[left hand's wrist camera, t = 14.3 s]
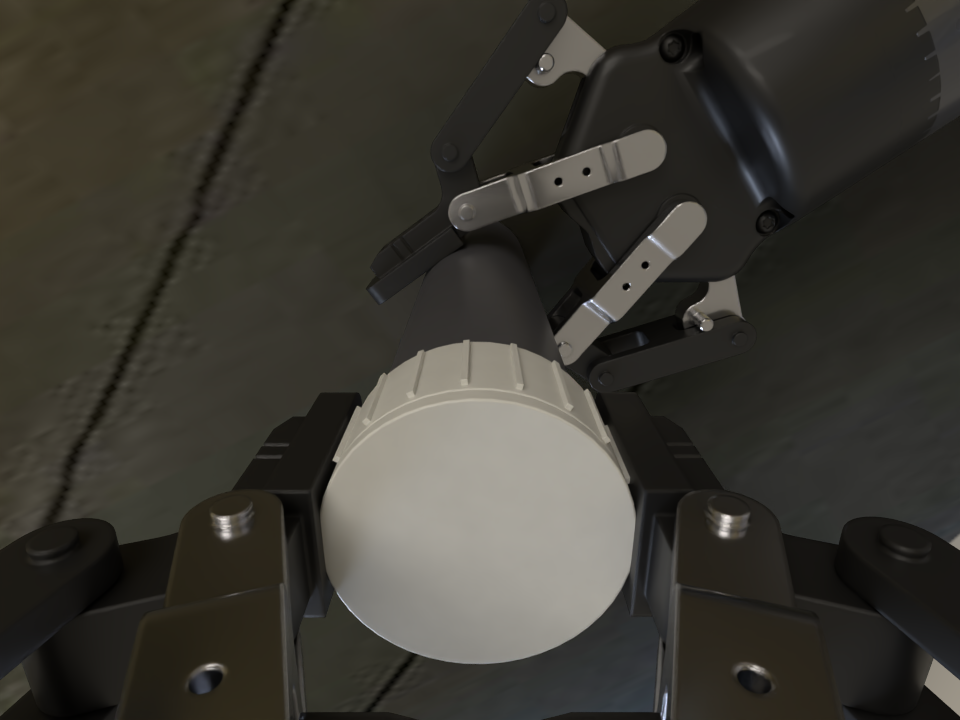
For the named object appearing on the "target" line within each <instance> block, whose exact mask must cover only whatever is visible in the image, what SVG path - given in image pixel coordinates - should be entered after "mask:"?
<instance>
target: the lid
mask: <svg viewBox="0 0 960 720" xmlns="http://www.w3.org/2000/svg"><path fill="white" fill-rule="evenodd" d="M333 461H334V462H336V463H337V465H336V467H335V470H334V472H333V474H332V476H331V479H330V481H329V484H328V486H327V489H326V491H325V493H324V496H323V500H322V504H321V508H320V520H321V530H322V539H323V548H324V557H325V566H326V572H327V575H328V577H329V580H330V582H331V584H332V586H333V587H334V589H335V591H336V592H337V594H338V596H339V597H340V599H341V600H342V601H343V602H344V604H345V605H346V606H347V607H348V609H349V610H350V611H351V612H352V613H353V614H354V615H355V616H356V617H357V618H358V619H359V620H360V621H361V622H362V623H363V624H364V625H366V626H367V627H368V628H370V629H371V630H372V631H374V632H375V633H376V634H378V635H379V636H381V637H383V638H384V639H386V640H388V641H389V642H391V643H393V644H395V645H397V646H399V647H401V648H404V649H406V650H408V651H410V652H413V653H416V654H420V655H423V656H426V657H429V658H433V659H438V660H443V661H448V662H456V663H465V664H489V663H500V662H507V661H513V660H518V659H523V658H526V657H530V656H533V655H537V654H540V653H542V652H545V651H547V650H550V649H552V648H555V647H557V646H559V645H561V644H563V643H564V642H566V641H568V640H570V639H572V638H574V637H575V636H576V635H578V634H579V633H581V632H582V631H584V630H585V629H586V628H588V627H589V626H590V625H591V624H592V623H593V622H595V621H596V620H597V619H598V618H599V617H600V616H601V615H602V614H603V613H604V612H605V611H606V609H607V608H608V607H609V606H610V605H611V604H612V602H613V601H614V600H615V598H616V597H617V595H618V593H619V592H620V590H621V589H622V587H623V585H624V583H625V581H626V579H627V577H628V574H629V572H630V566H631V558H632V549H633V540H634V531H635V521H636V511H635V506H634V501H633V498H632V495H631V492H630V490H629V487H628V484H629V483H630V476H629V474H628V472H627V469H626V467H625V465H624V462H623V460H622V458H621V455H620V453H619V451H618V448H617V446H616V444H615V442H614V439H613V437H612V435H611V432H610V430H609V428H608V425H604V423H603V421H602V418H601V416H600V414H599V411H598V409H597V406H596V404H595V402H594V399H593V397H592V395H591V393H590V391H589V390H588V389H586V390H585V391H584V390H583V389H582V387H581V386H580V385H579V384H578V383H577V382H576V381H575V380H574V379H573V378H572V377H571V376H570V375H569V374H567V373H566V372H565V371H564V370H562V369H561V367H560V364H559V363H558V362H557V361H555V360H554V361H553V362H550V361H549V360H547V359H545V358H543V357H542V356H540V355H537V354H535V353H532V352H530V351H528V350H525V349H521V348H518V347H517V344H513V343H511V344H510V345H506V344H499V343H492V342H470V340H463V343H456V344H450V345H446V346H442V347H438V348H434V349H432V350H429V351H426V352H424V350H421V351H418V353H417V356H415V357H413V358H411V359H409V360H407V361H405V362H404V363H402V364H401V365H399V366H398V367H397V368H395V369H394V370H392V371H391V372H390V373H389V374H388V375H386V374H385V373H383V374H382V375H381V376H380V378H379V381H378V383H377V386H376V387H375V388H374V389H373V391H372V392H371V393H370V394H369V396H368V397H367V399H366V400H365V402H364V404H363V406H362V407H359V406H357V407H356V409H355V411H354V413H353V415H352V418H351V420H350V422H349V424H348V427H347V429H346V431H345V433H344V436H343V438H342V440H341V442H340V444H339V447H338V449H337V451H336V453H335V456H334V458H333Z"/></svg>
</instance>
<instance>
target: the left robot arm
mask: <svg viewBox="0 0 960 720" xmlns="http://www.w3.org/2000/svg"><path fill="white" fill-rule="evenodd" d="M595 404H596V406H597V409H598V411H599V414H600V416H601V418H602V421H603V423H604V425H608V428H609V430H610V432H611V435H612V437H613V439H614V442H615V444H616V446H617V448H618V451H619V453H620V455H621V458H622V460H623V462H624V465H625V467H626V469H627V472H628V474H629V476H630V483H629V484H628V487H629V490H630V492H631V495H632V498H633V501H634V506H635V511H636V521H635V531H634V540H633V549H632V558H631V566H630V572H629V574H628V577H627V579H626V581H625V583H624V585H623V587H622V590H623V593H624V597H625V600H626V603H627V606H628V610H629V613H630V616H653V619H654V621H655V624H656V627H657V630H658V633H659V642H658V650H657V663H656V676H655V689H654V703H653V712H571V713H567V714H563V715H559V716H555V717H551V718H547V719H543V720H960V716H959V715H957V714H956V713H955V712H954V711H953V710H952V709H951V708H950V707H949V706H947V705H946V704H945V703H944V702H943V701H942V700H941V699H939V698H938V697H937V696H936V695H935V694H934V693H933V692H932V691H931V690H930V689H928V688H927V687H926V686H925V685H924V684H925V681H926V678H927V675H928V672H929V670H930V667H931V664H932V661H933V658H934V659H935V660H937V661H938V662H939V663H940V664H941V665H943V666H944V667H945V668H946V669H947V670H949V671H950V672H951V673H952V674H953V675H955V676H956V677H957V678H958V679H959V680H960V550H958V549H957V548H955V547H954V546H952V545H951V544H949V543H948V542H946V541H944V540H943V539H941V538H939V537H938V536H936V535H934V534H932V533H930V532H928V531H926V530H924V529H922V528H919V527H917V526H914V525H912V524H908V523H905V522H902V521H898V520H894V519H889V518H882V517H860V518H856V519H852V520H851V521H849V522H847V523H846V524H845V525H844V527H843V530H842V534H841V537H840V541H839V545H836V544H831V543H826V542H821V541H816V540H811V539H806V538H800V537H795V536H791V535H787V534H783V533H782V532H781V528H780V524H779V521H778V519H777V518H776V516H775V515H774V514H773V513H772V512H771V511H770V510H769V509H768V508H767V507H765V506H764V505H763V504H761V503H759V502H758V501H756V500H754V499H752V498H750V497H747V496H744V495H742V494H738V493H735V492H731V491H726V490H724V489H723V487H722V486H721V484H720V483H719V481H718V480H717V478H716V477H715V476H714V474H713V473H712V471H711V470H710V468H709V467H708V465H707V464H706V462H705V461H704V459H703V458H701V455H700V453H699V452H698V450H697V449H696V447H695V446H693V445H692V442H691V440H690V439H689V437H688V436H687V434H686V433H685V431H684V430H683V429H682V428H681V427H679V426H678V425H676V424H675V423H673V422H672V421H670V420H669V419H667V418H666V417H664V416H650V414H649V413H648V411H647V409H646V408H645V406H644V404H643V403H642V401H641V399H640V398H639V396H638V394H637V393H636V392H598V393H597V396H596V400H595ZM357 406H359V407H362V400H361V396H360V394H359V393H320V394H319V396H318V398H317V399H316V401H315V403H314V404H313V406H312V408H311V409H310V411H309V412H308V414H307V416H306V417H292V418H290V419H289V420H287V421H286V422H284V423H283V424H281V425H279V426H278V427H276V428H275V429H274V430H273V431H272V432H271V434H270V435H269V437H268V438H267V440H266V441H265V443H264V446H262V447H261V448H260V450H259V451H258V453H257V454H256V458H255V459H253V460H252V462H251V463H250V464H249V466H248V467H247V469H246V470H245V472H244V473H243V475H242V476H241V478H240V479H239V480H238V482H237V483H236V485H235V486H234V488H233V489H232V491H229V492H225V493H222V494H218V495H216V496H213V497H210V498H208V499H206V500H204V501H202V502H201V503H199V504H197V505H196V506H195V507H193V508H192V509H191V510H190V511H189V512H188V513H187V514H186V515H185V516H184V518H183V519H182V521H181V524H180V528H179V532H178V533H175V534H171V535H168V536H163V537H159V538H154V539H149V540H144V541H139V542H133V543H128V544H123V545H119V544H118V540H117V536H116V532H115V529H114V527H113V526H112V525H111V524H110V523H108V522H106V521H103V520H100V519H93V518H81V519H72V520H66V521H62V522H58V523H54V524H51V525H48V526H45V527H42V528H40V529H37V530H35V531H32V532H30V533H28V534H26V535H24V536H22V537H21V538H19V539H17V540H16V541H14V542H12V543H11V544H9V545H8V546H6V547H5V548H3V549H2V550H0V680H1V679H2V678H3V677H4V676H5V675H7V674H8V673H9V672H10V671H11V670H13V669H14V668H15V667H16V666H17V665H19V664H20V663H21V662H22V665H23V668H24V671H25V674H26V676H27V679H28V682H29V685H30V687H31V689H30V690H29V691H28V692H27V693H26V694H25V695H24V696H23V697H22V698H20V699H19V700H18V701H17V702H16V703H15V704H14V705H13V706H11V707H10V708H9V709H8V710H7V711H6V712H5V713H4V714H3V715H1V716H0V720H417V719H413V718H409V717H405V716H401V715H397V714H393V713H389V712H307V702H306V689H305V676H304V662H303V650H302V642H301V635H300V628H299V627H300V624H301V621H302V619H303V617H326V614H327V611H328V607H329V604H330V601H331V598H332V595H333V592H334V587H333V586H332V584H331V582H330V580H329V577H328V575H327V572H326V566H325V557H324V548H323V539H322V530H321V520H320V508H321V504H322V500H323V496H324V493H325V491H326V489H327V486H328V484H329V481H330V479H331V476H332V474H333V472H334V470H335V467H336V465H337V463H336V462H334V461H333V458H334V456H335V453H336V451H337V449H338V447H339V444H340V442H341V440H342V438H343V436H344V433H345V431H346V429H347V427H348V424H349V422H350V420H351V418H352V415H353V413H354V411H355V409H356V407H357Z"/></svg>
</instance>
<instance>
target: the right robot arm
mask: <svg viewBox="0 0 960 720" xmlns="http://www.w3.org/2000/svg"><path fill="white" fill-rule="evenodd" d="M567 13H568V12H567V4H566V2H565V0H529V1H528V3H527V4H526V6H525V7H524V9H523V10H522V12H521V13H520V14H519V16H518V17H517V19H516V20H515V22H514V23H513V25H512V26H511V28H510V29H509V31H508V32H507V34H506V35H505V37H504V38H503V39H502V41H501V42H500V44H499V45H498V47H497V48H496V50H495V51H494V53H493V54H492V56H491V57H490V59H489V60H488V62H487V63H486V64H485V66H484V67H483V69H482V70H481V72H480V73H479V75H478V76H477V78H476V79H475V81H474V82H473V84H472V85H471V87H470V88H469V89H468V91H467V92H466V94H465V95H464V97H463V98H462V100H461V101H460V103H459V104H458V106H457V107H456V109H455V110H454V112H453V113H452V114H451V116H450V117H449V119H448V120H447V122H446V123H445V125H444V126H443V128H442V129H441V131H440V132H439V134H438V135H437V137H436V138H435V139H434V141H433V143H432V146H431V158H432V161H433V162H434V164H435V167H436V170H437V174H438V177H439V181H440V184H441V188H442V199H441V202H440V204H439V205H438V206H437V207H436V208H435V209H433V210H432V211H431V212H429V213H428V214H427V215H425V216H424V217H423V218H421V219H420V220H419V221H417V222H416V223H415V224H413V225H412V226H411V227H409V228H408V229H407V230H405V231H404V232H403V233H401V234H400V235H399V236H397V237H396V238H395V239H393V240H392V241H391V242H389V243H388V244H387V245H385V246H384V247H383V248H382V249H381V251H380V252H379V253H378V254H377V256H376V258H375V260H374V261H373V263H372V265H371V266H370V268H371V269H372V271H373V272H374V273H375V274H376V277H375V278H374V279H373V280H372V281H371V282H370V284H369V285H368V287H367V288H366V290H367V291H368V292H369V293H370V295H371V296H372V297H373V298H374V300H375V301H376V302H377V303H378V305H380V304H382V303H383V302H385V301H386V300H388V299H389V298H391V297H392V296H393V295H395V294H396V293H397V292H399V291H400V290H402V289H403V288H404V287H406V286H407V285H408V284H410V283H411V282H413V281H414V280H415V279H417V278H418V277H420V276H421V275H422V274H424V273H425V272H426V271H428V270H429V269H431V268H432V267H433V266H435V265H436V264H437V263H438V262H440V261H441V260H442V259H444V258H445V257H447V256H449V255H450V254H451V253H453V252H454V251H455V250H457V249H458V248H460V247H461V246H462V245H464V239H465V235H466V234H467V233H468V232H470V231H473V230H476V229H478V228H481V227H484V226H487V225H490V224H492V223H495V222H498V221H501V220H504V219H507V218H509V217H512V216H515V215H518V214H521V213H527V212H532V211H536V210H539V209H542V208H544V207H547V206H550V205H553V204H556V203H558V204H559V205H560V207H561V209H562V210H563V211H564V212H565V213H566V214H567V215H569V216H570V217H571V218H572V219H573V220H574V221H575V222H576V223H578V224H579V226H580V229H581V232H582V235H583V239H584V242H585V245H586V247H587V248H588V250H589V251H590V253H591V254H592V256H593V257H592V258H591V259H590V260H589V262H588V263H587V264H586V265H585V266H584V268H583V269H582V270H581V271H580V272H579V274H578V275H577V277H576V278H575V280H574V283H573V285H572V287H571V288H570V289H569V291H568V292H567V293H566V294H565V295H564V296H563V298H562V299H561V300H560V301H559V302H558V304H557V305H556V306H555V307H554V308H553V309H552V311H551V312H550V313H549V314H548V315H547V319H548V321H549V324H550V327H551V330H552V332H553V335H554V338H555V341H556V343H557V346H558V349H559V352H560V354H561V357H562V360H563V363H564V365H565V368H567V369H570V370H572V371H574V372H575V373H577V374H578V375H580V376H581V377H583V378H584V379H586V380H587V381H589V383H590V385H591V387H592V388H593V389H594V390H595V391H597V392H614V391H617V390H621V389H624V388H628V387H631V386H634V385H638V384H641V383H645V382H648V381H651V380H655V379H658V378H661V377H665V376H668V375H672V374H675V373H678V372H682V371H685V370H688V369H692V368H695V367H699V366H702V365H705V364H709V363H712V362H715V361H719V360H722V359H726V358H729V357H732V356H736V355H739V354H742V353H745V352H747V351H748V350H750V349H751V348H752V347H753V345H754V344H755V341H756V338H757V333H756V330H755V328H754V327H753V326H752V325H751V324H750V323H748V322H747V321H746V320H745V319H744V318H743V317H742V313H741V307H740V302H739V296H738V291H737V285H736V280H735V274H737V273H738V272H739V271H740V270H741V269H742V268H743V267H744V265H745V264H746V262H747V261H748V259H749V258H750V256H751V254H752V253H753V252H754V250H755V249H756V248H757V247H758V245H759V244H760V243H761V242H762V241H763V240H765V239H766V238H767V237H769V236H770V235H772V234H774V233H776V232H777V231H779V230H781V229H783V228H785V227H787V226H789V225H791V224H792V223H794V222H796V221H798V220H799V219H801V218H802V217H804V216H806V215H807V214H809V213H810V212H812V211H813V210H815V209H816V208H818V207H819V206H821V205H823V204H824V203H826V202H827V201H829V200H830V199H832V198H833V197H835V196H837V195H838V194H840V193H841V192H843V191H844V190H846V189H847V188H849V187H850V186H852V185H854V184H855V183H857V182H858V181H860V180H861V179H863V178H864V177H866V176H867V175H869V174H871V173H872V172H874V171H875V170H877V169H878V168H880V167H881V166H883V165H885V164H886V163H888V162H889V161H891V160H892V159H894V158H896V157H897V156H899V155H900V154H902V153H903V152H905V151H906V150H908V149H909V148H911V147H913V146H914V145H916V144H917V143H919V142H920V141H922V140H923V139H925V138H926V137H928V136H929V135H931V134H932V133H934V132H936V131H937V130H939V129H940V128H942V127H943V126H945V125H946V124H948V123H950V122H951V121H953V120H954V119H956V118H957V117H959V116H960V0H699V1H698V2H696V3H695V4H694V5H692V6H691V7H690V8H688V9H687V10H686V11H684V12H683V13H682V14H680V15H679V16H678V17H676V18H675V19H674V20H672V21H671V22H670V23H668V24H667V25H666V26H664V27H663V28H662V29H660V30H659V31H658V32H656V33H655V34H654V35H652V36H651V37H649V38H648V39H646V40H644V41H641V42H638V43H634V44H627V45H619V46H615V47H612V48H610V49H608V50H605V49H604V48H603V47H602V46H601V45H599V44H598V43H597V42H596V41H595V40H594V39H593V38H592V37H590V36H589V35H588V34H587V33H586V32H585V31H584V30H583V29H581V28H580V27H579V26H578V25H577V24H576V23H575V22H574V21H573V20H571V19H570V18H569V17H568V16H567ZM564 74H575V75H578V76H579V77H581V78H582V79H581V82H580V85H579V87H578V90H577V93H576V96H575V99H574V102H573V104H572V107H571V110H570V113H569V116H568V118H567V121H566V124H565V127H564V130H563V132H562V135H561V138H560V141H559V144H558V147H557V149H556V152H555V153H553V154H550V155H547V156H545V157H542V158H539V159H536V160H534V161H531V162H528V163H525V164H523V165H520V166H517V167H515V168H513V169H510V170H509V171H506V172H504V173H501V174H498V175H496V176H493V177H490V178H487V179H485V180H482V181H479V179H478V175H477V172H476V168H475V164H474V160H473V157H472V155H473V153H474V152H475V150H476V149H477V148H478V146H479V145H480V143H481V142H482V140H483V139H484V138H485V136H486V135H487V133H488V132H489V131H490V129H491V128H492V126H493V125H494V123H495V122H496V121H497V119H498V118H499V116H500V115H501V114H502V112H503V111H504V109H505V108H506V107H507V105H508V104H509V102H510V101H511V99H512V98H513V97H514V95H515V94H516V92H517V91H518V90H519V88H520V87H521V85H522V84H523V82H524V81H526V82H527V83H529V84H530V85H531V86H533V87H536V88H544V87H547V86H549V85H551V84H552V83H554V82H555V81H556V80H557V79H558V78H559V77H560V76H562V75H564ZM653 282H700V284H699V287H698V289H697V290H696V292H695V293H694V294H693V295H691V296H689V297H687V298H685V299H684V300H682V301H681V302H680V303H679V304H678V306H677V308H676V311H675V315H673V316H669V317H666V318H663V319H660V320H656V321H653V322H650V323H647V324H643V325H640V326H637V327H634V328H630V329H627V330H624V331H620V332H617V333H614V334H611V335H607V336H604V337H601V338H598V339H596V338H597V337H598V336H599V334H600V333H601V332H602V331H603V330H604V329H605V328H606V327H607V326H608V325H609V324H611V323H614V322H616V321H618V320H619V319H620V318H622V317H623V316H624V314H625V313H626V312H627V311H628V310H629V309H630V308H631V307H632V306H633V304H634V303H635V302H636V301H637V300H638V299H639V298H640V297H641V296H642V294H643V293H644V292H645V291H646V290H647V289H648V288H649V287H650V285H651V284H652V283H653ZM625 283H626V285H625V286H623V284H625ZM622 286H623V287H622Z"/></svg>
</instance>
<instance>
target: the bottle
mask: <svg viewBox="0 0 960 720" xmlns="http://www.w3.org/2000/svg"><path fill="white" fill-rule="evenodd" d="M463 340H470V342H492V343H499V344H506V345H510V344H511V343H513V344H517V347H518V348H521V349H525V350H528V351H530V352H532V353H535V354H537V355H540V356H542V357H543V358H545V359H547V360H549V361H550V362H553V361H554V360H555V361H557V362H558V363H559V364H560V367H561V369H562V370H564V371H565V372H566V373H567V371H566V368H565V365H564V363H563V360H562V357H561V354H560V352H559V349H558V346H557V343H556V341H555V338H554V335H553V332H552V330H551V327H550V324H549V321H548V319H547V316H546V313H545V311H544V308H543V305H542V302H541V300H540V297H539V294H538V291H537V289H536V286H535V283H534V280H533V278H532V275H531V272H530V269H529V267H528V264H527V261H526V259H525V256H524V253H523V250H522V248H521V245H520V243H519V241H518V239H517V238H516V236H515V235H514V234H513V233H512V231H511V230H510V229H508V228H507V227H506V226H505V225H503V224H502V223H500V222H495V223H492V224H490V225H487V226H484V227H481V228H478V229H476V230H473V231H470V232H468V233H467V234H466V235H465V239H464V245H462V246H461V247H460V248H458V249H457V250H455V251H454V252H453V253H451V254H450V255H449V256H447V257H445V258H444V259H442V260H441V261H440V262H438V263H437V264H436V265H435V266H433V267H432V268H431V269H429V270H428V271H427V272H426V275H425V277H424V280H423V283H422V285H421V288H420V291H419V293H418V296H417V299H416V302H415V304H414V307H413V310H412V312H411V315H410V318H409V320H408V323H407V326H406V329H405V331H404V334H403V337H402V339H401V342H400V345H399V347H398V350H397V353H396V355H395V358H394V361H393V364H392V366H391V369H390V372H391V371H392V370H394V369H395V368H397V367H398V366H399V365H401V364H402V363H404V362H405V361H407V360H409V359H411V358H413V357H415V356H417V353H418V351H421V350H424V352H426V351H429V350H432V349H434V348H438V347H442V346H446V345H450V344H456V343H463ZM390 372H389V373H390ZM567 374H568V373H567Z"/></svg>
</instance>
